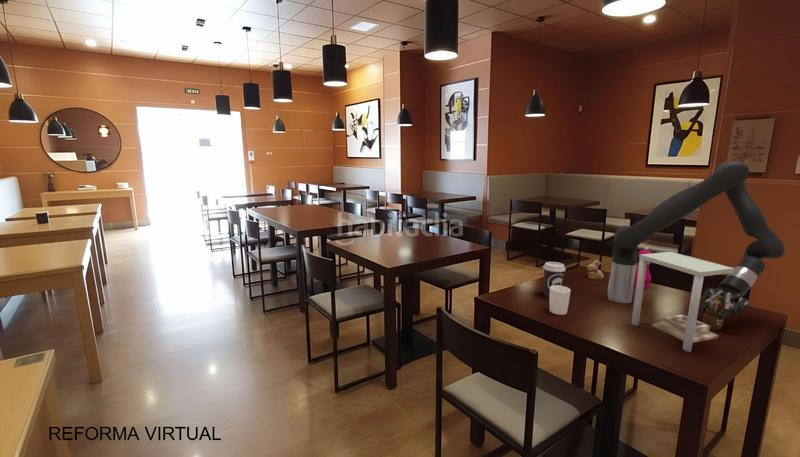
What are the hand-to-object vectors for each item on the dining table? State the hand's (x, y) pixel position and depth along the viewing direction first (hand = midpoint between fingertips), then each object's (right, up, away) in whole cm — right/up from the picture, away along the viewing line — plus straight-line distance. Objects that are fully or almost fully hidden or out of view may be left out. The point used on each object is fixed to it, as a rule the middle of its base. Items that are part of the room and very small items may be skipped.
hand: (710, 314), depth 142 cm
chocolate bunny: (-14, +6, +58) cm, 60 cm away
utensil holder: (+2, -5, +2) cm, 6 cm away
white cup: (-51, -2, +15) cm, 53 cm away
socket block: (-12, -6, -2) cm, 13 cm away
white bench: (-17, -6, -4) cm, 19 cm away
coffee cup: (-46, +1, +33) cm, 57 cm away
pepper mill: (+2, +4, +45) cm, 45 cm away
